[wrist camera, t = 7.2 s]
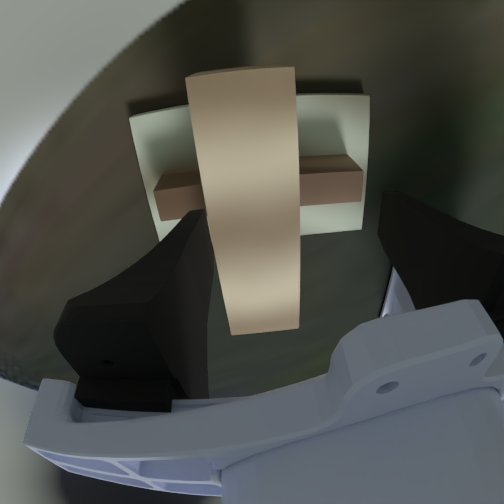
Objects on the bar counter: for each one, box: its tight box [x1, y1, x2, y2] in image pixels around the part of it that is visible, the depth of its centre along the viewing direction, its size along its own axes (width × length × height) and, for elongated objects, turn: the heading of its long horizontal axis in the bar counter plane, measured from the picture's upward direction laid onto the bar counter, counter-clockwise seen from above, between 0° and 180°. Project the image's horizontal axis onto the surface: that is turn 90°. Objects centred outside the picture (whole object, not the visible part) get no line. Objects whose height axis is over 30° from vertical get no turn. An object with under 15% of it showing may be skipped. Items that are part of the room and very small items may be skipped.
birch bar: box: [185, 64, 300, 335], centre depth 16 cm, size 14×4×4 cm, turn 5°
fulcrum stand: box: [129, 93, 370, 244], centre depth 19 cm, size 10×15×4 cm, turn 95°
